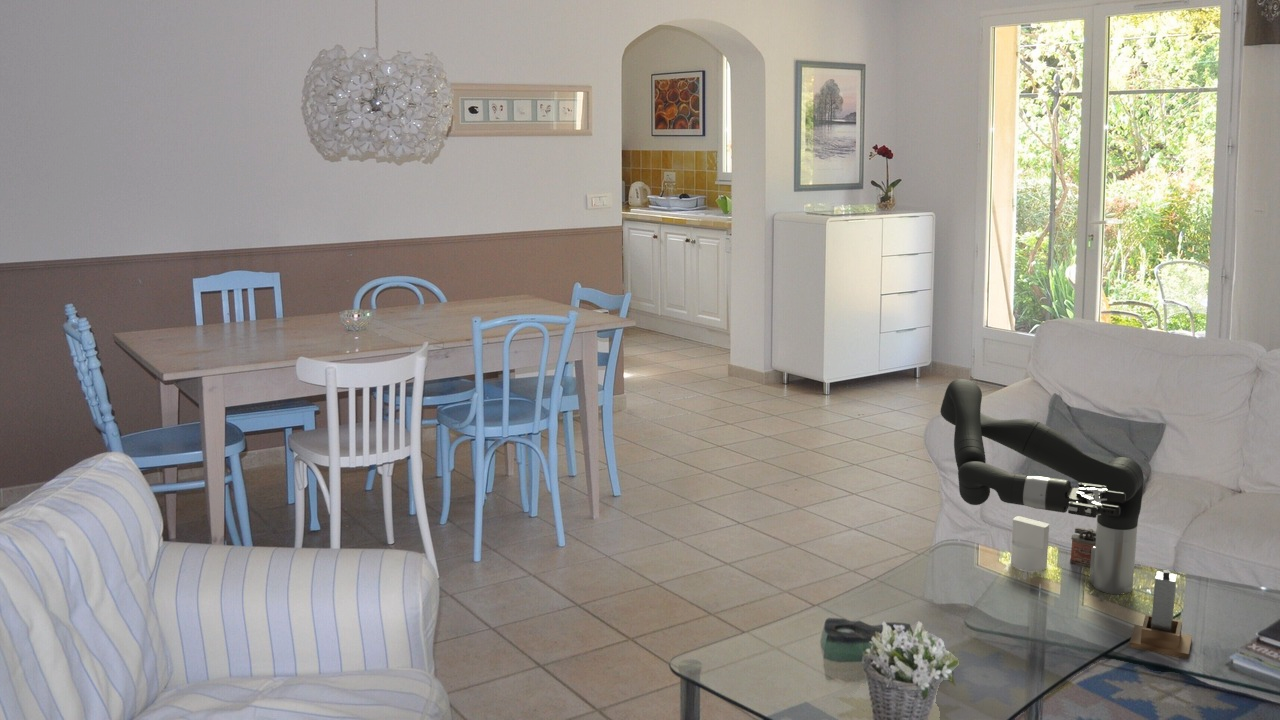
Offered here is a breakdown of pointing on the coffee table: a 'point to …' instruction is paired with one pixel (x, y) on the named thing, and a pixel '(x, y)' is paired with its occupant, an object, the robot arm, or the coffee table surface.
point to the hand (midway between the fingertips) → (1122, 504)
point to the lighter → (1082, 547)
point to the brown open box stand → (1161, 639)
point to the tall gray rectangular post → (1163, 601)
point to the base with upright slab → (1029, 544)
